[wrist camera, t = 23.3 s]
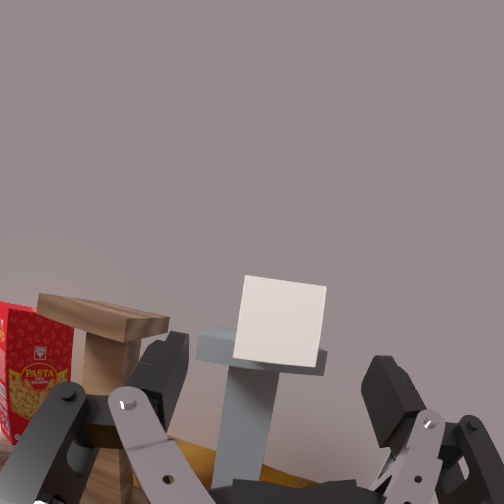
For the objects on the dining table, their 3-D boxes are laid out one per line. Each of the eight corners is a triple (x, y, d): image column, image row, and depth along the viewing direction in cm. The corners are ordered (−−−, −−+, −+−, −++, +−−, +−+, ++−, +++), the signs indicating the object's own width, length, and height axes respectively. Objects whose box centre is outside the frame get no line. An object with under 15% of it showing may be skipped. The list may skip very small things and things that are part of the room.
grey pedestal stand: (264, 577, 15) (327, 351, 21) (176, 566, 15) (198, 334, 21) (259, 516, 28) (295, 337, 35) (192, 508, 28) (216, 325, 35)
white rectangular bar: (317, 367, 13) (328, 286, 14) (230, 357, 13) (243, 274, 14) (275, 335, 32) (280, 302, 33) (239, 330, 32) (244, 296, 33)
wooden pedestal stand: (125, 552, 15) (126, 318, 21) (54, 519, 15) (39, 292, 21) (153, 499, 28) (169, 317, 35) (95, 478, 28) (102, 301, 35)
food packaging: (12, 445, 25) (8, 308, 30) (1, 430, 27) (-1, 301, 32) (71, 434, 39) (75, 318, 44) (56, 423, 41) (61, 312, 46)
